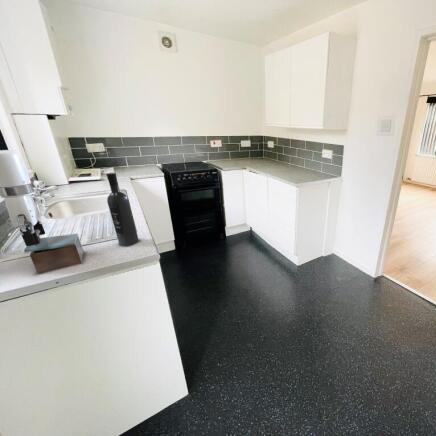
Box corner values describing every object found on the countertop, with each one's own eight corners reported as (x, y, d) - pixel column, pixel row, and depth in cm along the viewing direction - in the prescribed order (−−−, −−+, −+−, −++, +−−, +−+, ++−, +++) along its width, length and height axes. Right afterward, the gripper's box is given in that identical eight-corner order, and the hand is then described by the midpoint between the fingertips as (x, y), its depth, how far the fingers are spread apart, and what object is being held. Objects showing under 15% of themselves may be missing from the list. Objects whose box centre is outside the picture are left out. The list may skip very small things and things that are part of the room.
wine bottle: (128, 248, 100) (109, 175, 90) (118, 246, 102) (98, 174, 92) (140, 242, 105) (123, 172, 95) (130, 240, 107) (112, 172, 97)
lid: (24, 252, 78) (20, 238, 77) (32, 241, 86) (28, 228, 85) (75, 245, 85) (72, 231, 84) (77, 235, 94) (75, 223, 92)
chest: (38, 275, 82) (29, 254, 79) (44, 262, 90) (36, 243, 87) (82, 264, 88) (75, 245, 86) (84, 253, 96) (78, 235, 94)
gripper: (7, 187, 82) (27, 234, 88) (-11, 198, 69) (13, 252, 75) (38, 184, 86) (55, 229, 92) (26, 194, 73) (46, 245, 79)
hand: (36, 239), depth 83 cm, fingers open, 9 cm apart
